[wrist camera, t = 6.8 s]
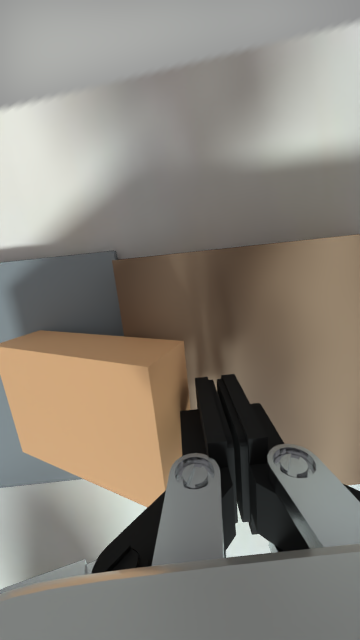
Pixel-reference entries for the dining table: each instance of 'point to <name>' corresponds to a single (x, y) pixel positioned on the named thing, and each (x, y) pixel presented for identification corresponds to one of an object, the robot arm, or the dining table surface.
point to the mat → (51, 315)
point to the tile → (99, 406)
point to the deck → (264, 331)
